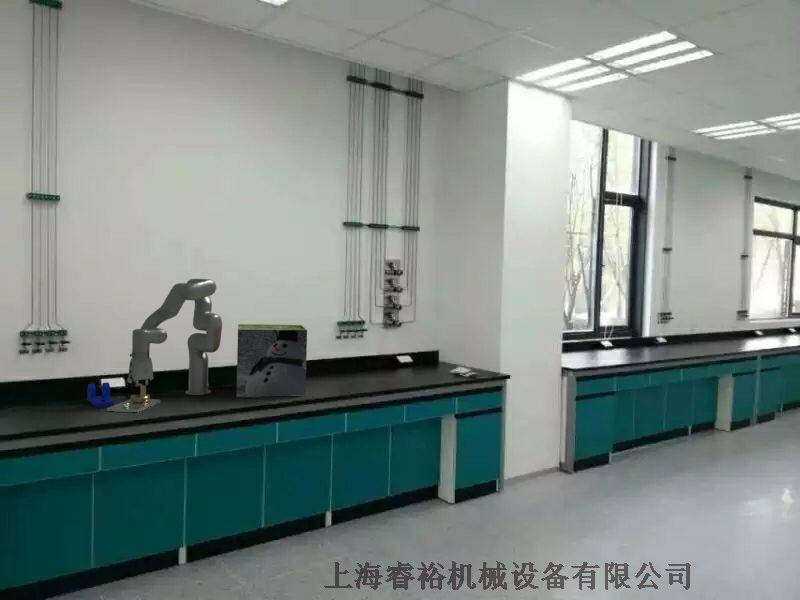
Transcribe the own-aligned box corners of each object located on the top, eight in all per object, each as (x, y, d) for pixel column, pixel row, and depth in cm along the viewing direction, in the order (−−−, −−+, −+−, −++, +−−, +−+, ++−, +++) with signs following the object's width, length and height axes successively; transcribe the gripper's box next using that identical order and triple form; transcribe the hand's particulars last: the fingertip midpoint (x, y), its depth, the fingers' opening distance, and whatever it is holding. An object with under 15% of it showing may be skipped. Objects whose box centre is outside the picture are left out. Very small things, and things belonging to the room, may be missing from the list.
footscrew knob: (127, 400, 280) (127, 384, 279) (145, 398, 285) (145, 382, 285) (135, 404, 272) (136, 387, 272) (154, 402, 278) (154, 385, 278)
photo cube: (299, 384, 345) (300, 324, 344) (305, 396, 311) (307, 330, 310) (236, 385, 336) (238, 324, 335) (236, 397, 302) (237, 329, 301)
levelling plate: (132, 401, 286) (132, 394, 286) (160, 402, 285) (160, 395, 285) (106, 411, 264) (107, 404, 264) (137, 412, 263) (137, 405, 263)
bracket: (87, 401, 284) (87, 382, 284) (106, 399, 289) (106, 381, 289) (96, 408, 270) (97, 388, 270) (116, 406, 275) (116, 387, 275)
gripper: (128, 357, 270) (128, 397, 270) (161, 354, 283) (160, 392, 284) (119, 356, 274) (119, 395, 275) (151, 353, 288) (151, 390, 288)
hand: (140, 393), depth 279 cm, fingers closed on footscrew knob, 3 cm apart
